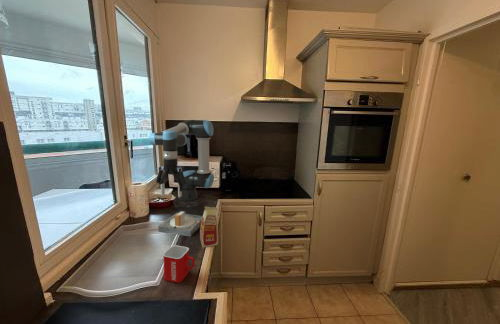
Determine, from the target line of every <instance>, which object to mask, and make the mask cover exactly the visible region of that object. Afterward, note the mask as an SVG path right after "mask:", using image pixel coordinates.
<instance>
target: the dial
mask: <svg viewBox="0 0 500 324" xmlns="http://www.w3.org/2000/svg"><path fill="white" fill-rule="evenodd" d="M177 213H178V214H177V215H175V218H173V219H172V220H171V221H170V226H171V227H175V226H176V227H178V228H189V227H192V226H193V225H194V224H195V222H196V219H195V218H194V217H192V216H185V214H186V211H179V212H177Z"/></svg>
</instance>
